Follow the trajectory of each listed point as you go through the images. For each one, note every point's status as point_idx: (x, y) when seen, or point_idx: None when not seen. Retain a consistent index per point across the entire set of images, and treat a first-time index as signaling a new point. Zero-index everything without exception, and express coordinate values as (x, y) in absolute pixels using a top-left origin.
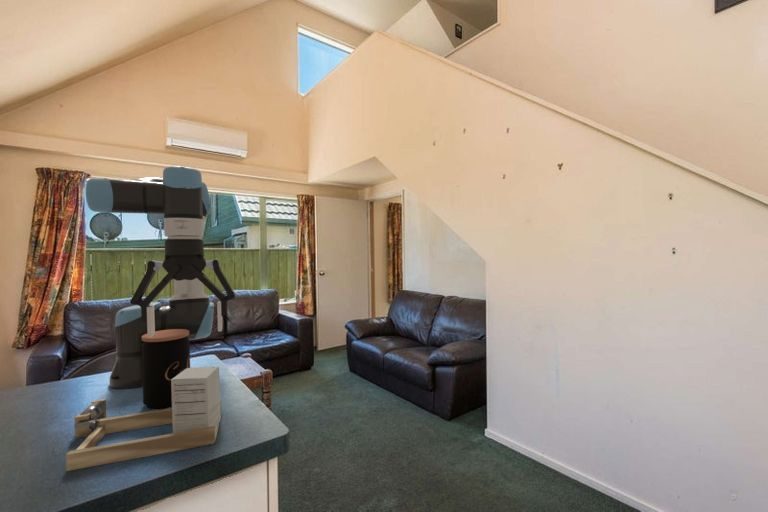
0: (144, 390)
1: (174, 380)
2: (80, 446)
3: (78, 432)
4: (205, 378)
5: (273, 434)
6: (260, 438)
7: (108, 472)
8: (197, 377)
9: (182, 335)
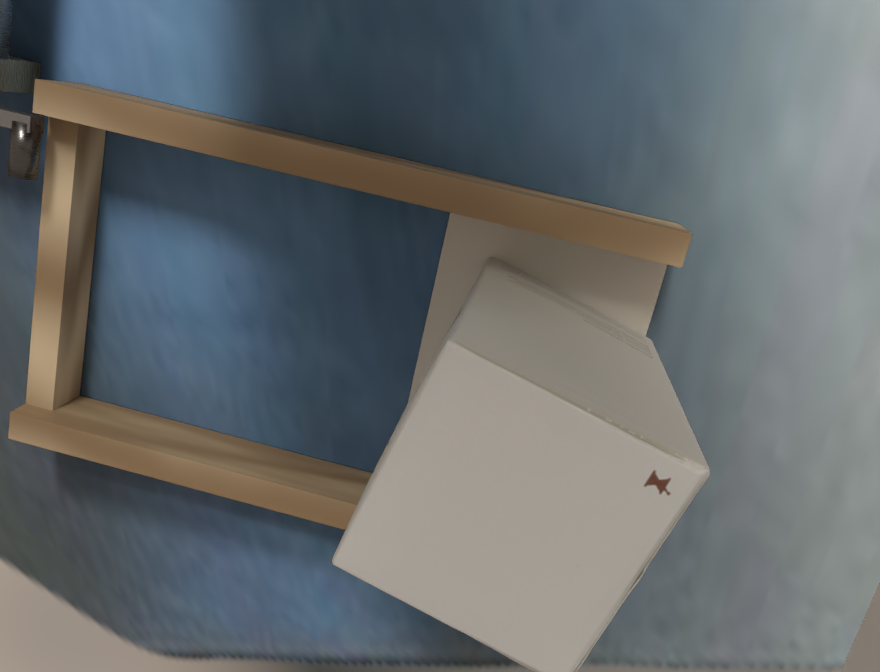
0: None
1: (355, 573)
2: (38, 328)
3: None
4: None
5: (841, 639)
6: (773, 635)
7: (197, 517)
8: (507, 646)
9: None
